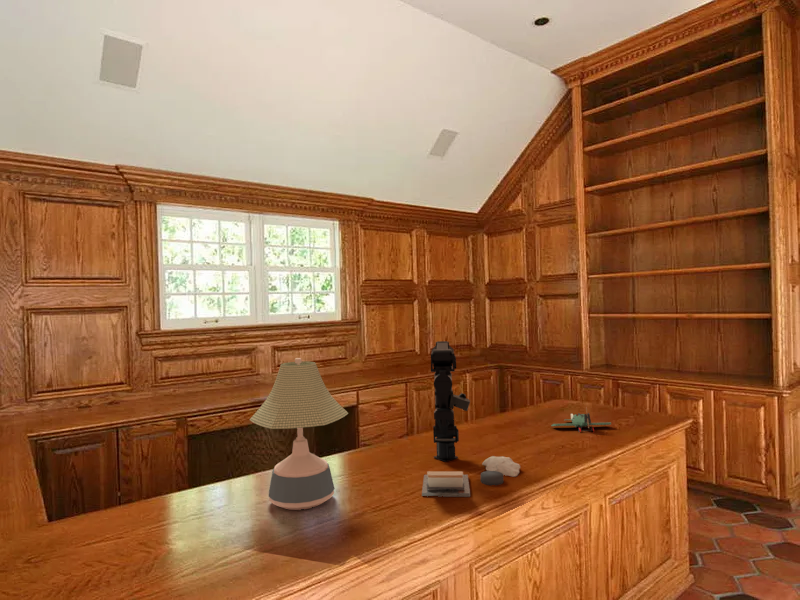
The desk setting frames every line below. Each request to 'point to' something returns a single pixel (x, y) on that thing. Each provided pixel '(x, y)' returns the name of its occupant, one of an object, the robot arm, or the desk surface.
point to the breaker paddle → (445, 480)
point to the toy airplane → (581, 422)
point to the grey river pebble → (491, 478)
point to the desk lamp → (299, 434)
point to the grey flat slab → (446, 490)
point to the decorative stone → (502, 465)
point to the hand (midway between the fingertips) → (444, 435)
